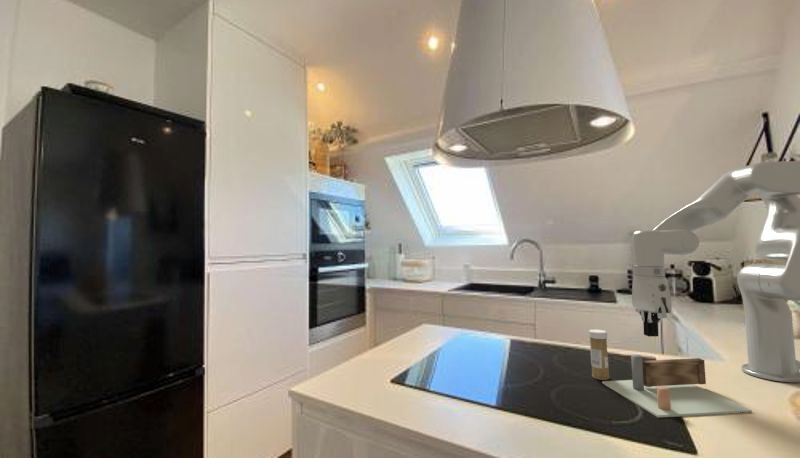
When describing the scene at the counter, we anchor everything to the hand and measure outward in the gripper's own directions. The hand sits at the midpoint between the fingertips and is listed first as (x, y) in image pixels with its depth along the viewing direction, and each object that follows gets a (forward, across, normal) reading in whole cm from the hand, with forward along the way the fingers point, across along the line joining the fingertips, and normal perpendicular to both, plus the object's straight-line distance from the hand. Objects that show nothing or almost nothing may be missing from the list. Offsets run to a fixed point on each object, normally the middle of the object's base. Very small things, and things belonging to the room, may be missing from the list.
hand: (651, 335), depth 103 cm
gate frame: (+12, -13, +6) cm, 19 cm away
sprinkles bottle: (+12, +1, +15) cm, 19 cm away
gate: (+10, -9, +1) cm, 14 cm away
